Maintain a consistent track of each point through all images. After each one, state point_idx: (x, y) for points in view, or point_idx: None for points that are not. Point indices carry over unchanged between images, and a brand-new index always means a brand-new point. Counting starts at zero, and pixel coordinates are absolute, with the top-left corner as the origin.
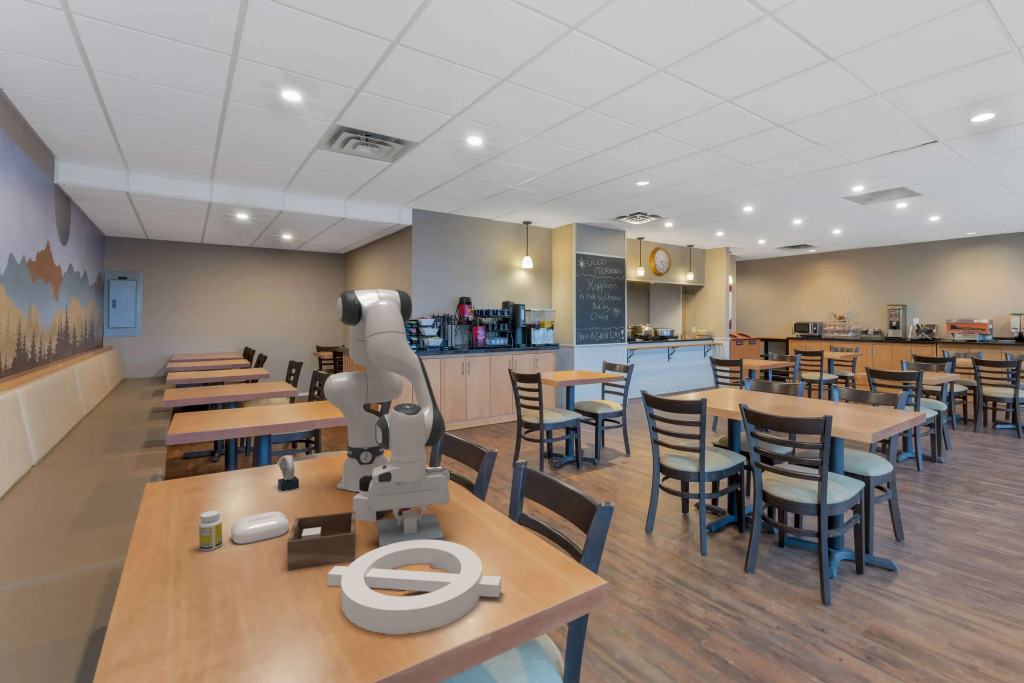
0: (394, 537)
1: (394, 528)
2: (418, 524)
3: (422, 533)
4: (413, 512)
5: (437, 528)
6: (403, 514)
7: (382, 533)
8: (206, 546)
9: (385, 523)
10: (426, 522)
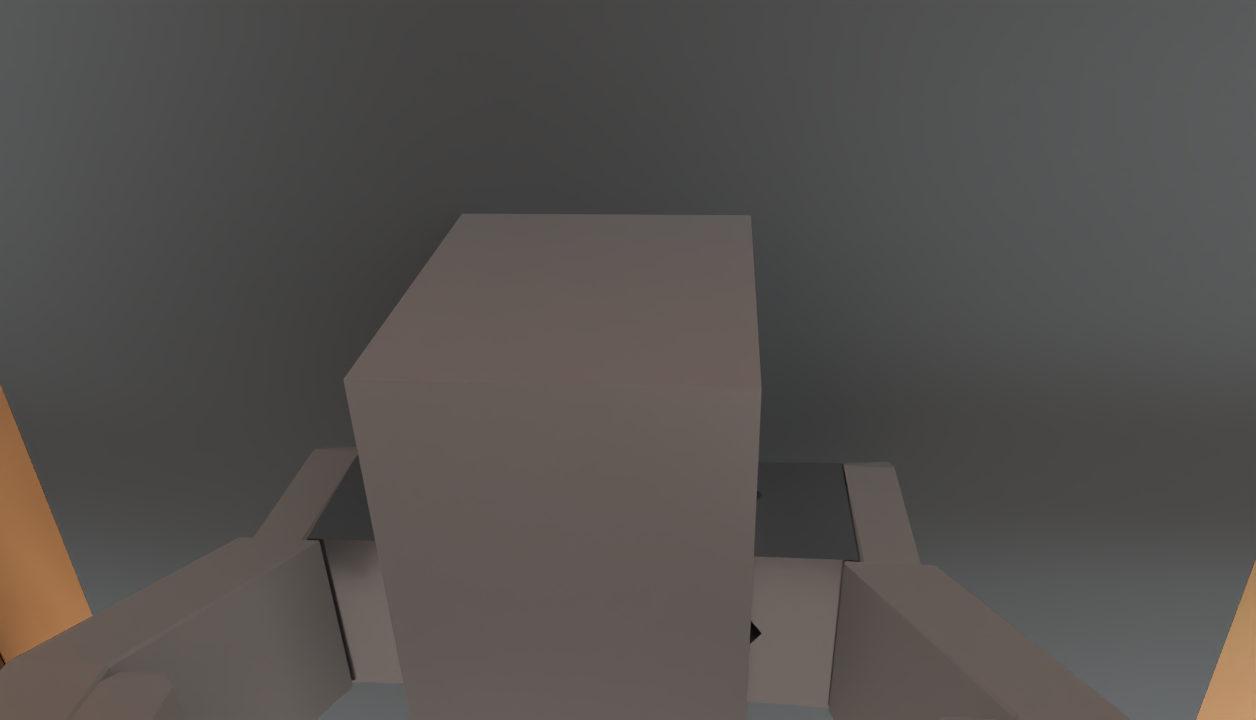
0: (353, 695)
1: (305, 371)
2: (835, 331)
3: (827, 709)
4: (709, 597)
5: (1164, 623)
6: (408, 636)
7: (114, 507)
8: None
9: (35, 25)
10: (1050, 283)
